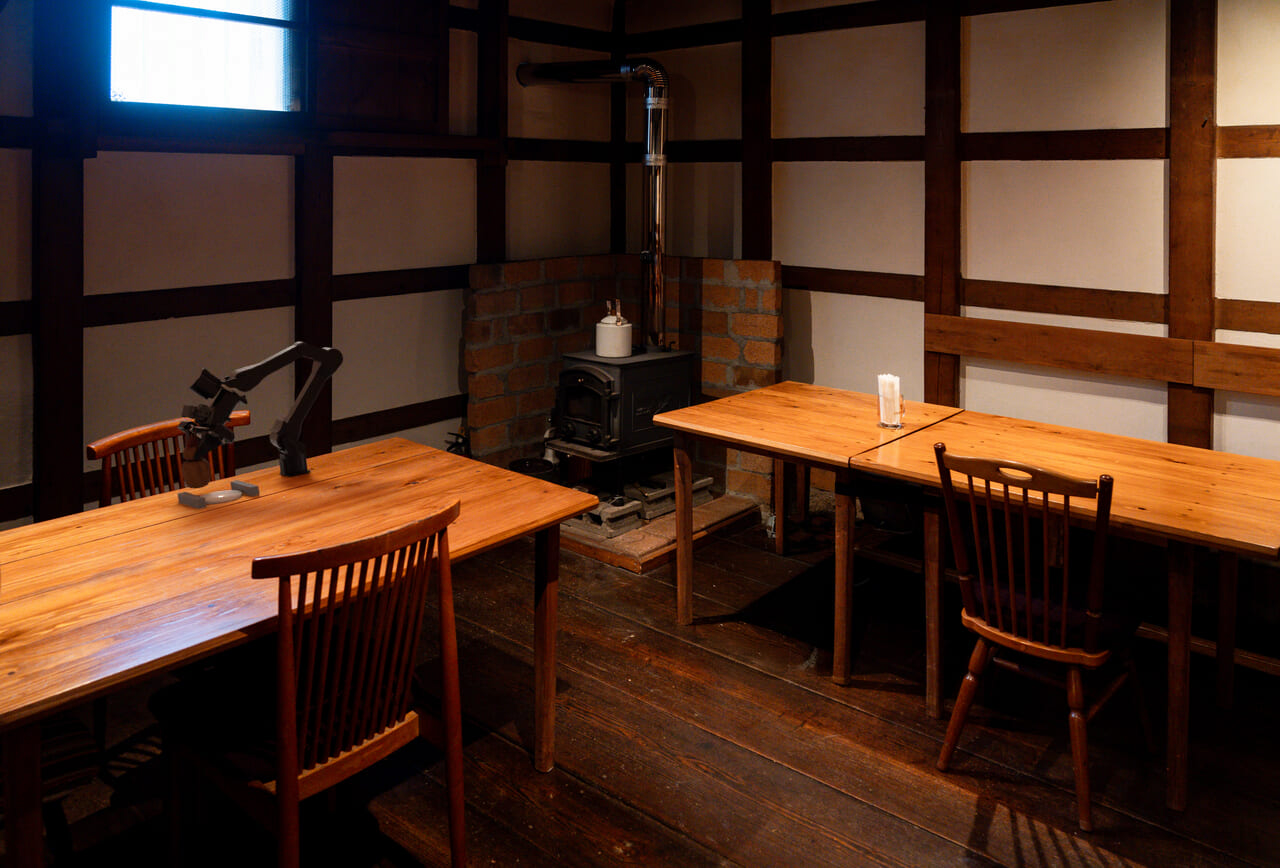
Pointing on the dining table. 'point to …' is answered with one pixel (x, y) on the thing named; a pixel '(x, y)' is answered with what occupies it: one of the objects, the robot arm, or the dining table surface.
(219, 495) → the coaster
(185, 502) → the twin grey foam blocks
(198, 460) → the wooden figurine
